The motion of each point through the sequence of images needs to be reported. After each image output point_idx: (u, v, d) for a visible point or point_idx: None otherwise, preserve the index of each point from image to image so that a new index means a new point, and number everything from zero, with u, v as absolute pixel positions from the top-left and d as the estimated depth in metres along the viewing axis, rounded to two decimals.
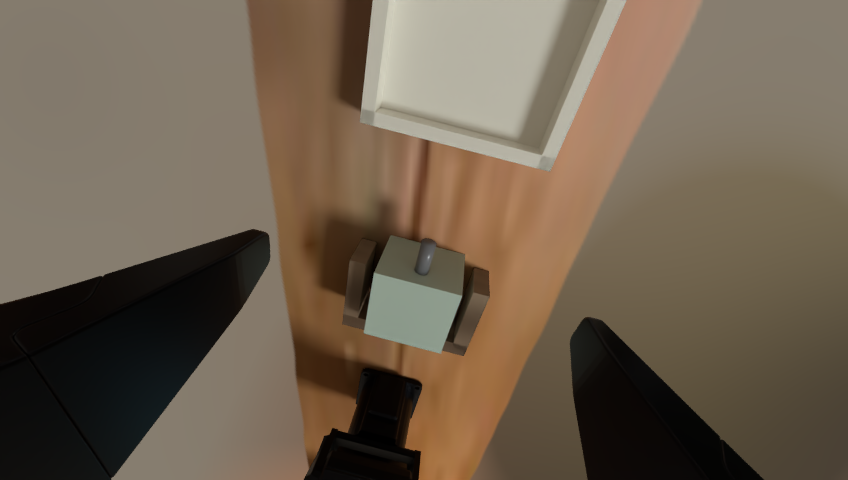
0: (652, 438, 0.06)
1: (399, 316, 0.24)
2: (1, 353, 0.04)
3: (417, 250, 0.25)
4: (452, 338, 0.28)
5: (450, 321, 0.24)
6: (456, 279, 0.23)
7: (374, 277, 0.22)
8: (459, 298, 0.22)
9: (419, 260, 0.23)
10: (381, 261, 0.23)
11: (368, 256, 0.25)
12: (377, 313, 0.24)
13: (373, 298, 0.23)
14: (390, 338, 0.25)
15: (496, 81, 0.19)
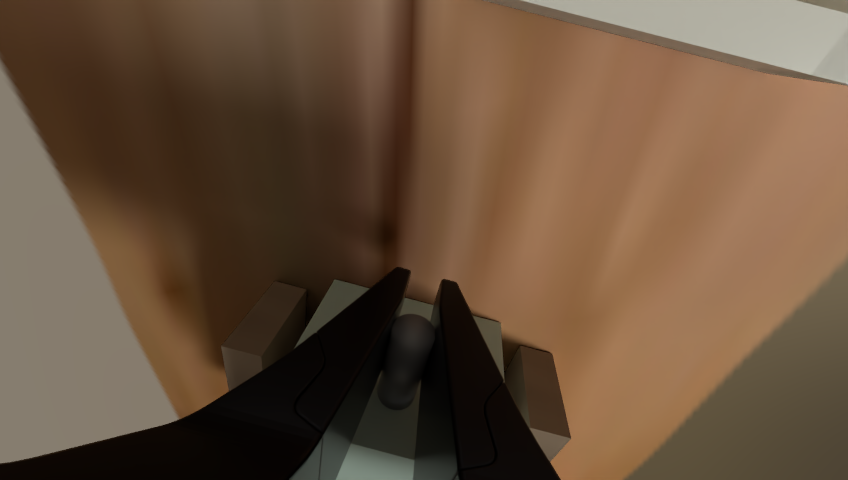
0: (441, 382, 0.06)
1: None
2: (300, 432, 0.04)
3: None
4: None
5: None
6: None
7: None
8: None
9: (387, 377, 0.08)
10: None
11: (275, 331, 0.10)
12: None
13: None
14: None
15: None
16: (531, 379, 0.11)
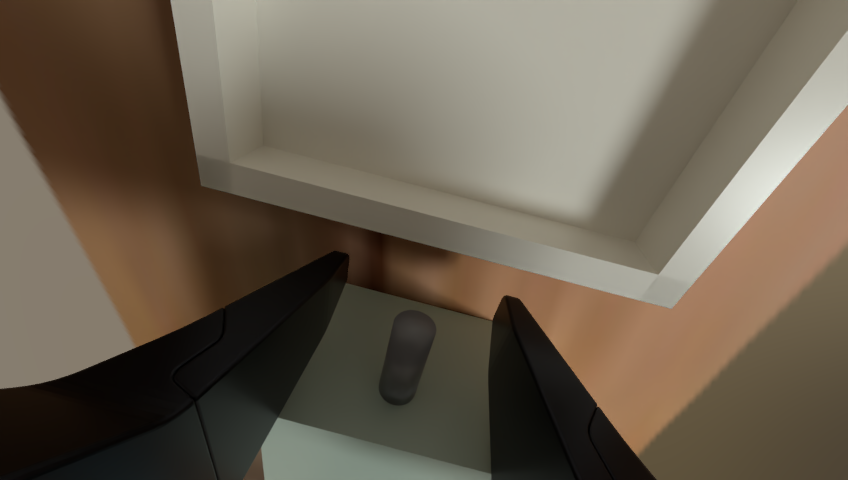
0: (532, 406, 0.06)
1: None
2: (171, 397, 0.04)
3: (392, 319, 0.11)
4: None
5: None
6: None
7: None
8: None
9: (388, 372, 0.08)
10: None
11: None
12: None
13: (271, 459, 0.09)
14: None
15: (542, 85, 0.07)
16: None
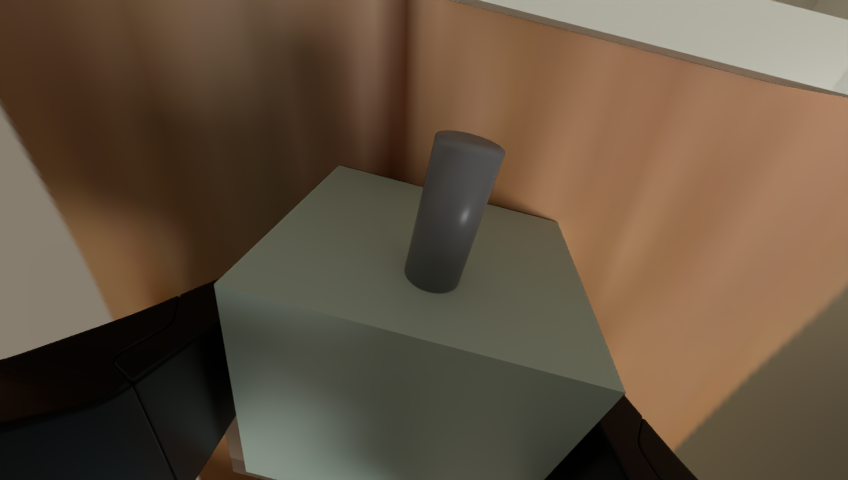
0: None
1: (351, 440, 0.07)
2: (108, 380, 0.04)
3: (417, 208, 0.08)
4: None
5: (543, 469, 0.06)
6: (569, 309, 0.06)
7: (222, 305, 0.05)
8: (608, 401, 0.05)
9: (424, 230, 0.05)
10: (273, 237, 0.06)
11: None
12: (273, 427, 0.07)
13: (243, 380, 0.06)
14: None
15: None
16: None
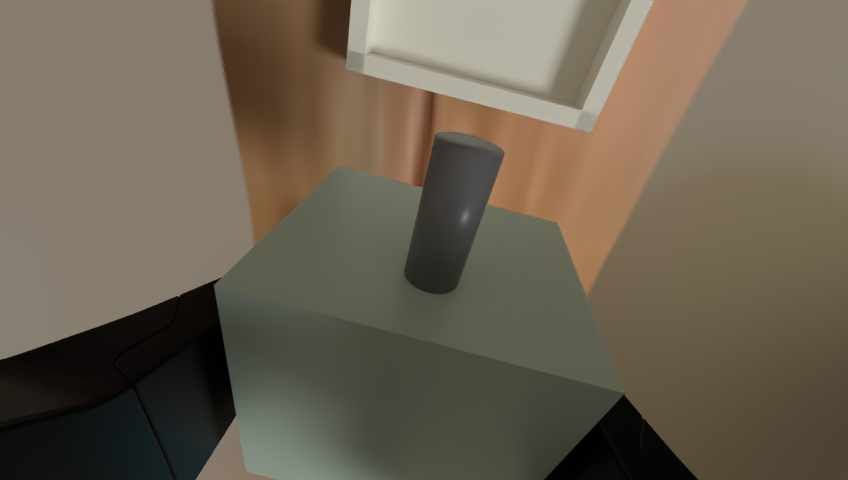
0: None
1: (351, 440, 0.07)
2: (107, 381, 0.04)
3: (417, 208, 0.08)
4: None
5: (543, 469, 0.06)
6: (568, 310, 0.06)
7: (222, 306, 0.05)
8: (607, 402, 0.05)
9: (424, 231, 0.05)
10: (274, 238, 0.06)
11: None
12: (273, 428, 0.07)
13: (243, 381, 0.06)
14: None
15: (522, 13, 0.15)
16: None
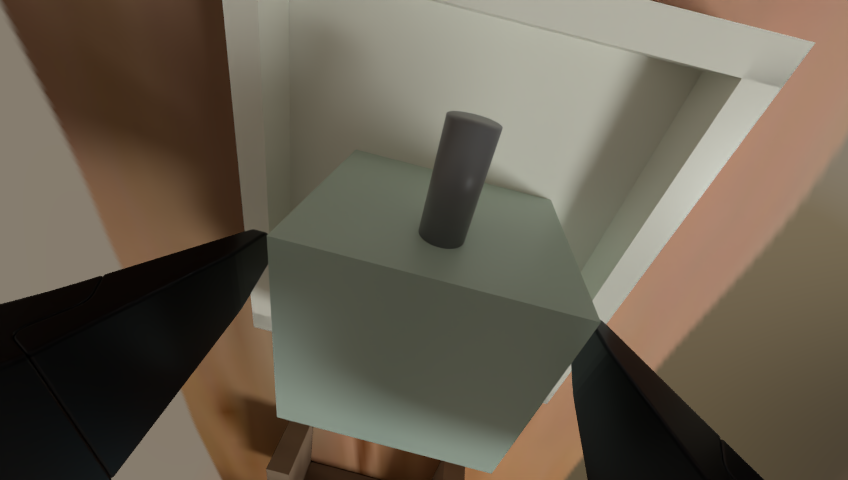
0: (652, 438, 0.06)
1: (373, 379, 0.08)
2: (1, 353, 0.04)
3: (426, 185, 0.09)
4: None
5: (536, 400, 0.07)
6: (557, 264, 0.07)
7: (272, 254, 0.06)
8: (587, 331, 0.06)
9: (436, 193, 0.06)
10: (308, 203, 0.07)
11: (296, 454, 0.18)
12: (305, 370, 0.08)
13: (283, 325, 0.07)
14: (350, 431, 0.09)
15: None
16: (447, 479, 0.19)
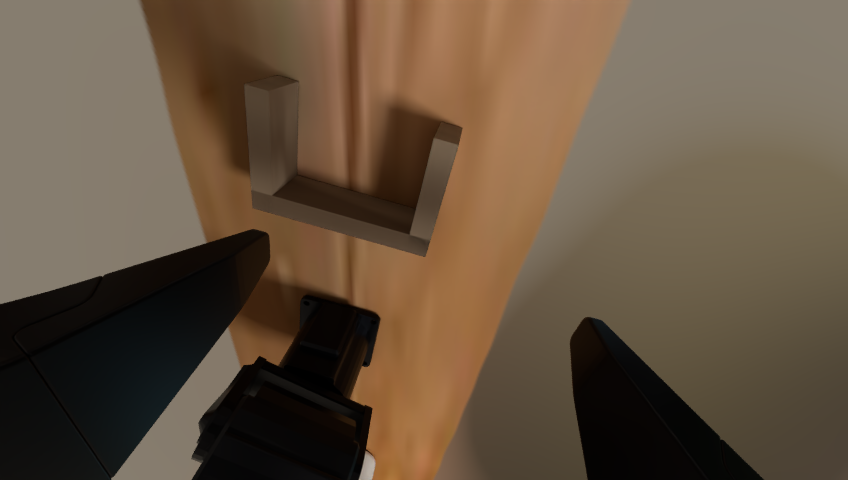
0: (652, 438, 0.06)
1: None
2: (1, 353, 0.04)
3: None
4: (409, 230, 0.19)
5: None
6: None
7: None
8: None
9: None
10: None
11: (277, 87, 0.16)
12: None
13: None
14: None
15: None
16: (442, 129, 0.17)
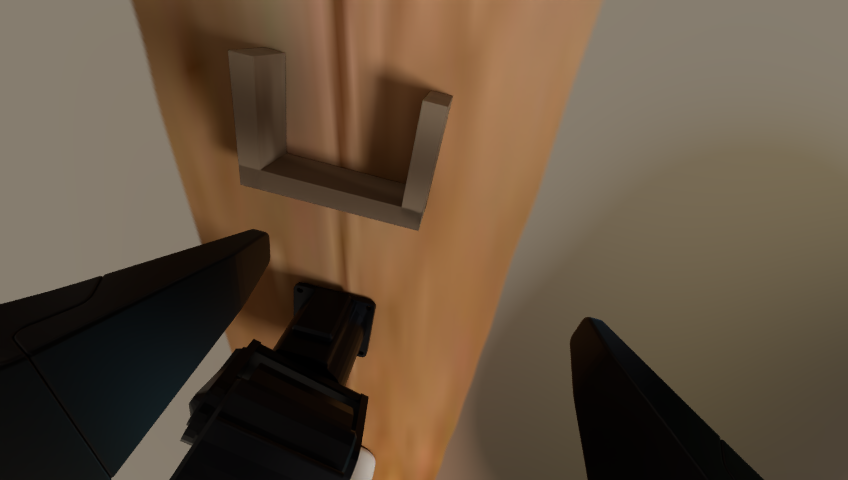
0: (652, 438, 0.06)
1: None
2: (1, 352, 0.04)
3: None
4: (401, 203, 0.19)
5: None
6: None
7: None
8: None
9: None
10: None
11: (262, 54, 0.16)
12: None
13: None
14: None
15: None
16: (432, 95, 0.17)
